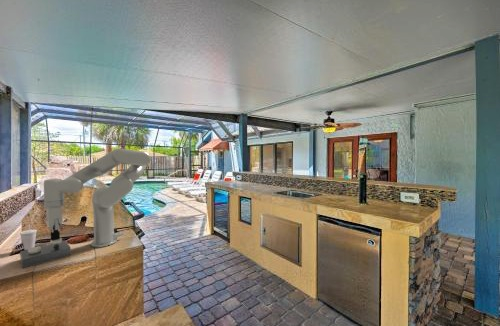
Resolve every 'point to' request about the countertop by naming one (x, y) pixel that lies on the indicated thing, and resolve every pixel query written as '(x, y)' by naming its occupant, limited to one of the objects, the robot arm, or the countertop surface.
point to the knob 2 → (56, 242)
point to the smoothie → (28, 238)
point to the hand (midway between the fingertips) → (55, 239)
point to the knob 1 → (34, 250)
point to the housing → (45, 254)
